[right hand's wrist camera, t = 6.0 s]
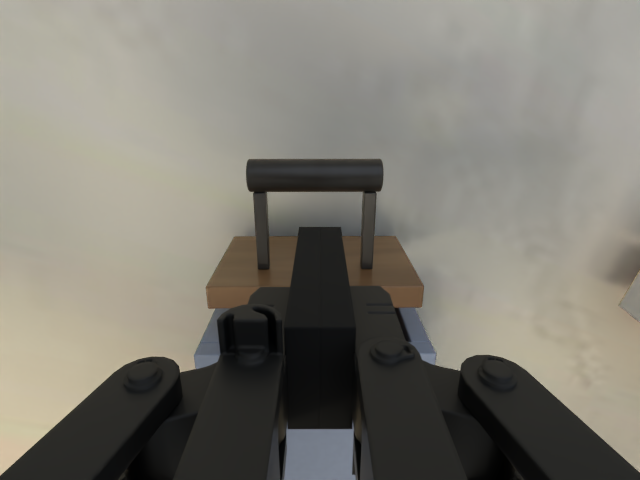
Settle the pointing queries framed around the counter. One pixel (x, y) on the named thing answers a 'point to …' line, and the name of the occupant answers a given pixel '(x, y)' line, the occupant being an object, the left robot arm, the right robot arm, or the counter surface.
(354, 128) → the counter surface
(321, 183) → the drawer
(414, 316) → the cabinet
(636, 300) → the toy
